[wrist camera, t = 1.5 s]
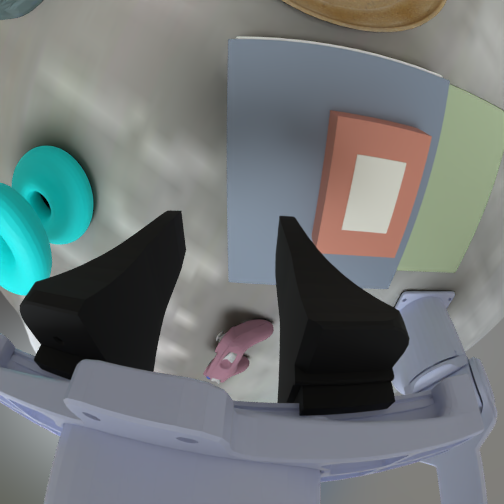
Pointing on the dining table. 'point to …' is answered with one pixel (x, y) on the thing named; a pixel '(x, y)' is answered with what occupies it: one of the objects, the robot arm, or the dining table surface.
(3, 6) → the grey plant pot
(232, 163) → the book deck
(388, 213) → the card box
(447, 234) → the felt mat
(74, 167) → the donuts
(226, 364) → the pink rounded piece
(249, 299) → the dining table surface
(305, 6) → the plant saucer
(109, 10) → the dining table surface
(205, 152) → the dining table surface
